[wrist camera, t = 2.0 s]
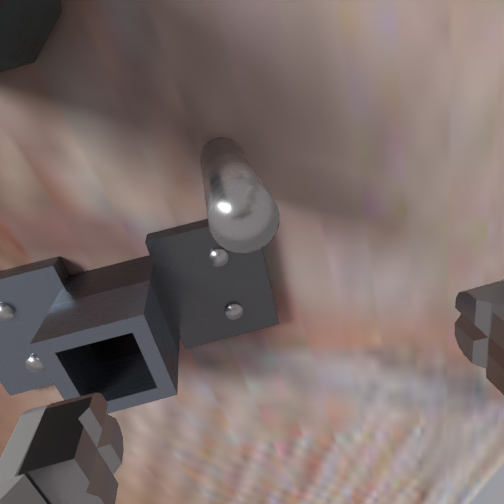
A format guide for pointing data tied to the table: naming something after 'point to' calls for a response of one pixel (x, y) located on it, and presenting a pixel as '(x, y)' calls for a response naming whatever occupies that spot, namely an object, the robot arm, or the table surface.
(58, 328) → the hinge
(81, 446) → the robot arm
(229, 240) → the pin
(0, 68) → the bottle
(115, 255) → the table surface
